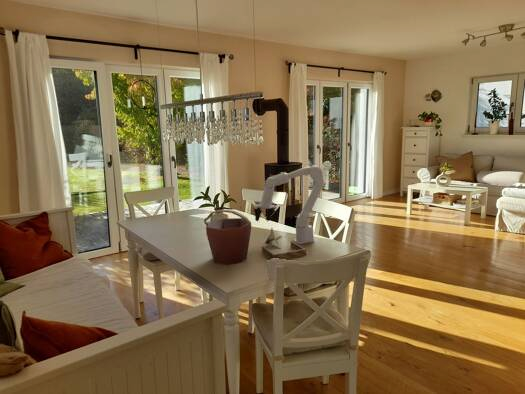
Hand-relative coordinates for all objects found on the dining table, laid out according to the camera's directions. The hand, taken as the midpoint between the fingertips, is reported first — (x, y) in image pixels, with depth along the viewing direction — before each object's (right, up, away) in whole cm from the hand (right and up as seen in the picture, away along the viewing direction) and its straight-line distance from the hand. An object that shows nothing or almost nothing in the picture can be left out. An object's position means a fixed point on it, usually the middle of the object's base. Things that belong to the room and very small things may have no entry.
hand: (262, 220), depth 213 cm
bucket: (-16, -18, -23) cm, 34 cm away
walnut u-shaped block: (+11, -16, -19) cm, 27 cm away
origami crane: (+7, -14, -8) cm, 18 cm away
